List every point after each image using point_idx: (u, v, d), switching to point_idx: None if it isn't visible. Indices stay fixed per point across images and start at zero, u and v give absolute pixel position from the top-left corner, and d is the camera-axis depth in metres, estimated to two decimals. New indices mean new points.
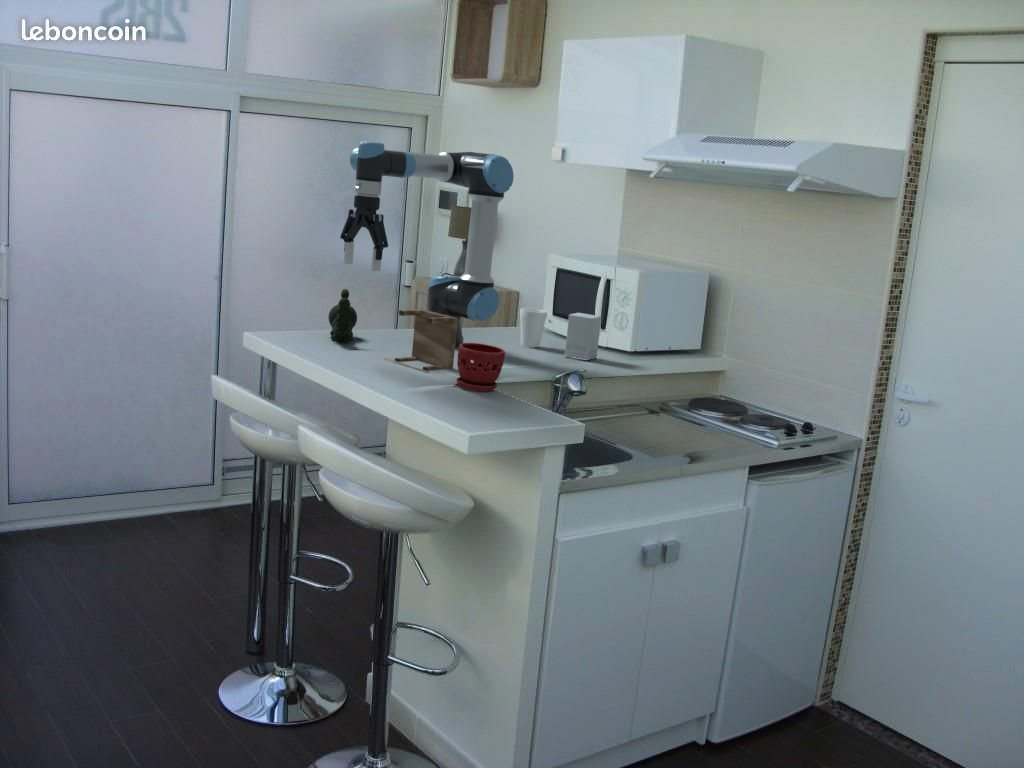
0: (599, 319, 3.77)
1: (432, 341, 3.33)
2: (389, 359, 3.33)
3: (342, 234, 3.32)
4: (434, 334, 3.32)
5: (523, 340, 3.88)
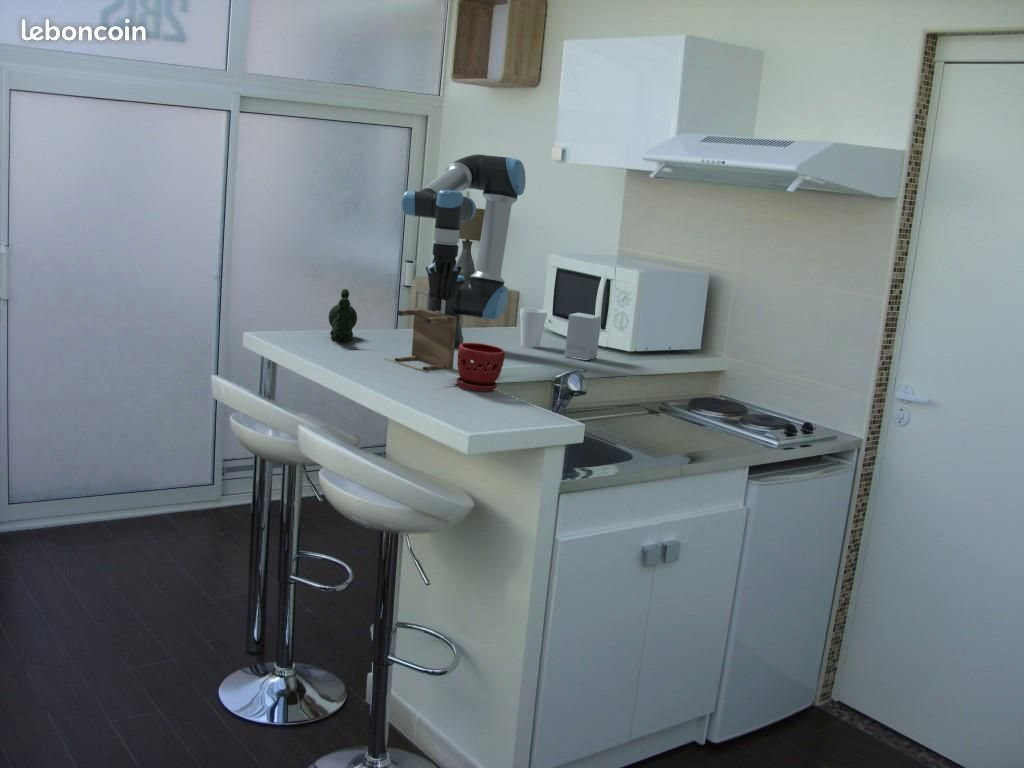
0: (599, 319, 3.77)
1: (431, 340, 3.32)
2: (389, 359, 3.33)
3: None
4: (433, 333, 3.31)
5: (523, 340, 3.88)
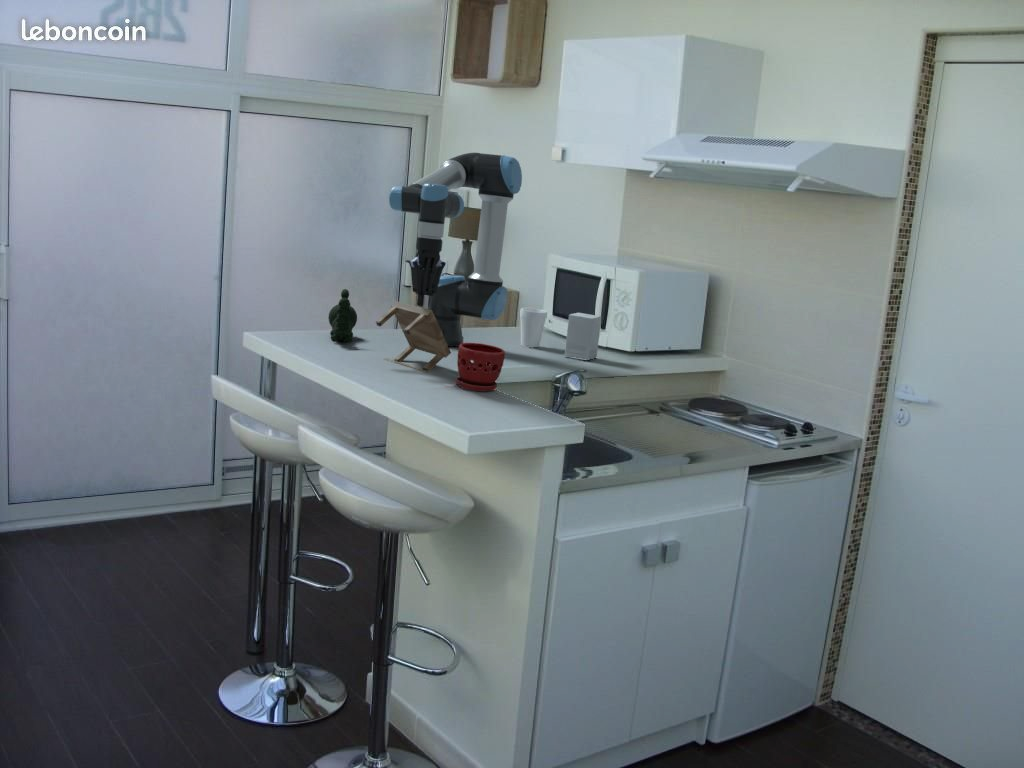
0: (599, 319, 3.77)
1: (419, 332, 3.28)
2: (389, 359, 3.33)
3: None
4: (418, 327, 3.26)
5: (523, 340, 3.88)
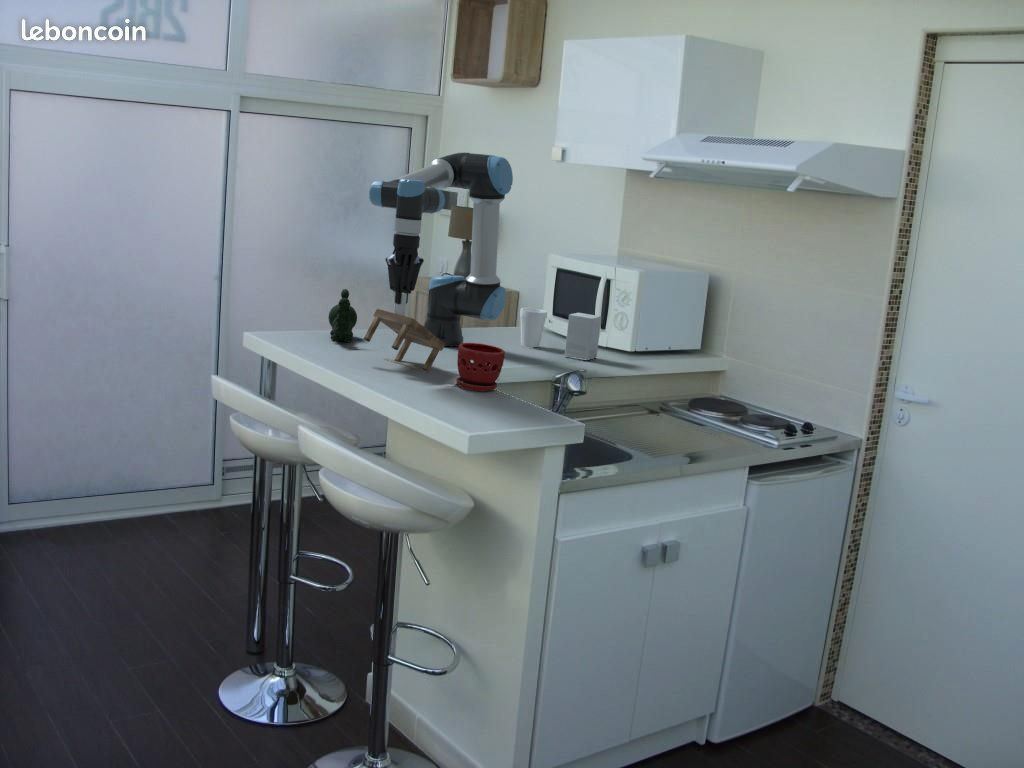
0: (599, 319, 3.77)
1: (409, 334, 3.25)
2: (389, 359, 3.33)
3: None
4: None
5: (523, 340, 3.88)
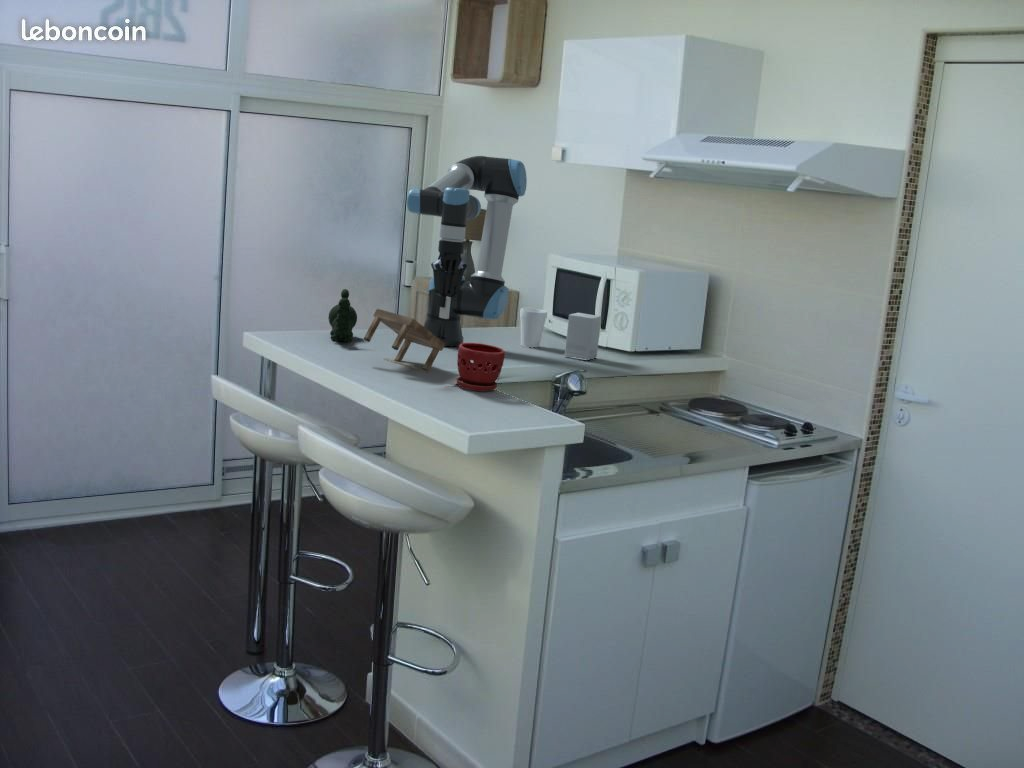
0: (599, 319, 3.77)
1: (409, 334, 3.25)
2: (389, 359, 3.33)
3: None
4: None
5: (523, 340, 3.88)
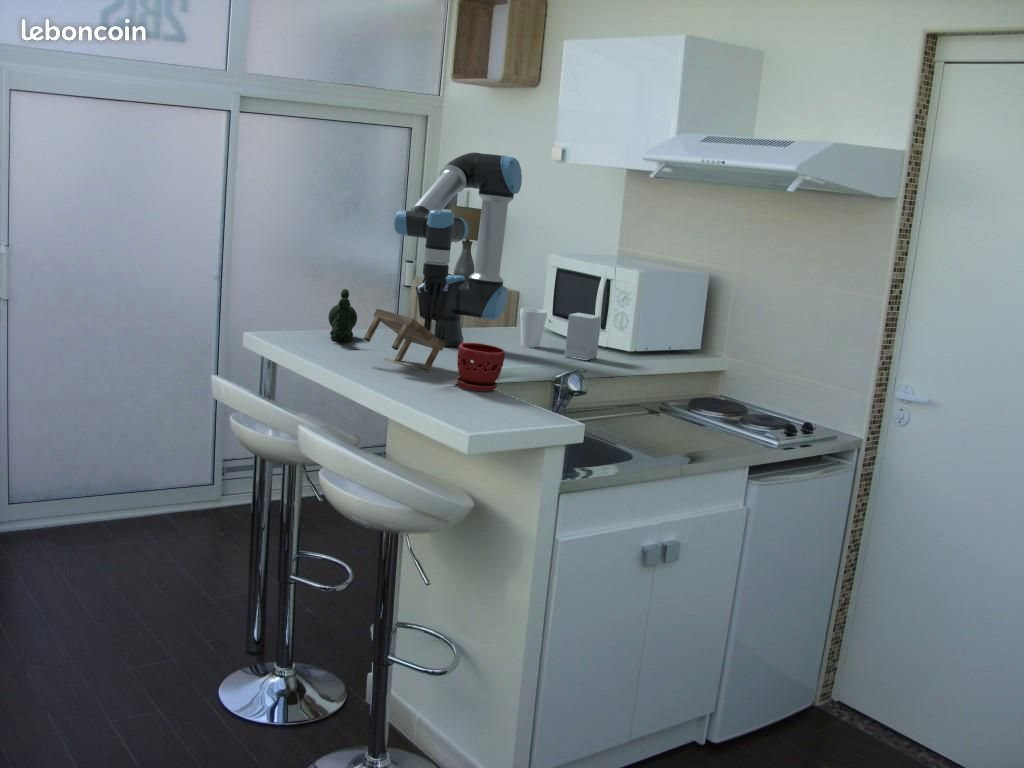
0: (599, 319, 3.77)
1: (409, 334, 3.25)
2: (389, 359, 3.33)
3: None
4: None
5: (523, 340, 3.88)
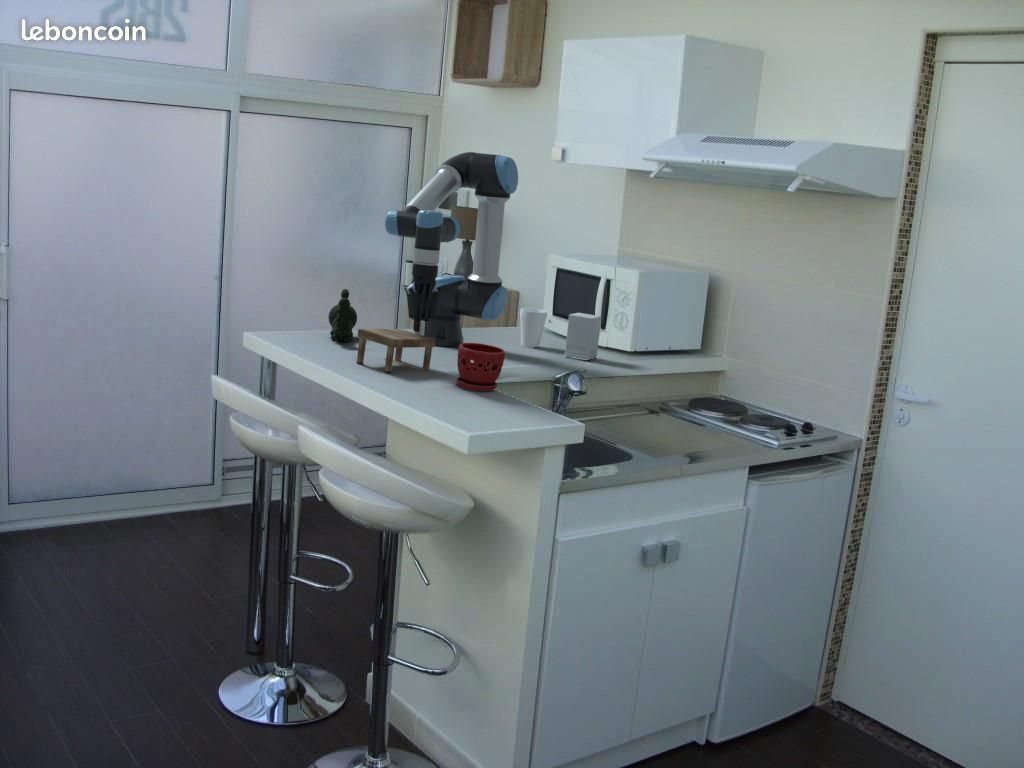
0: (599, 319, 3.77)
1: None
2: None
3: None
4: None
5: (523, 340, 3.88)
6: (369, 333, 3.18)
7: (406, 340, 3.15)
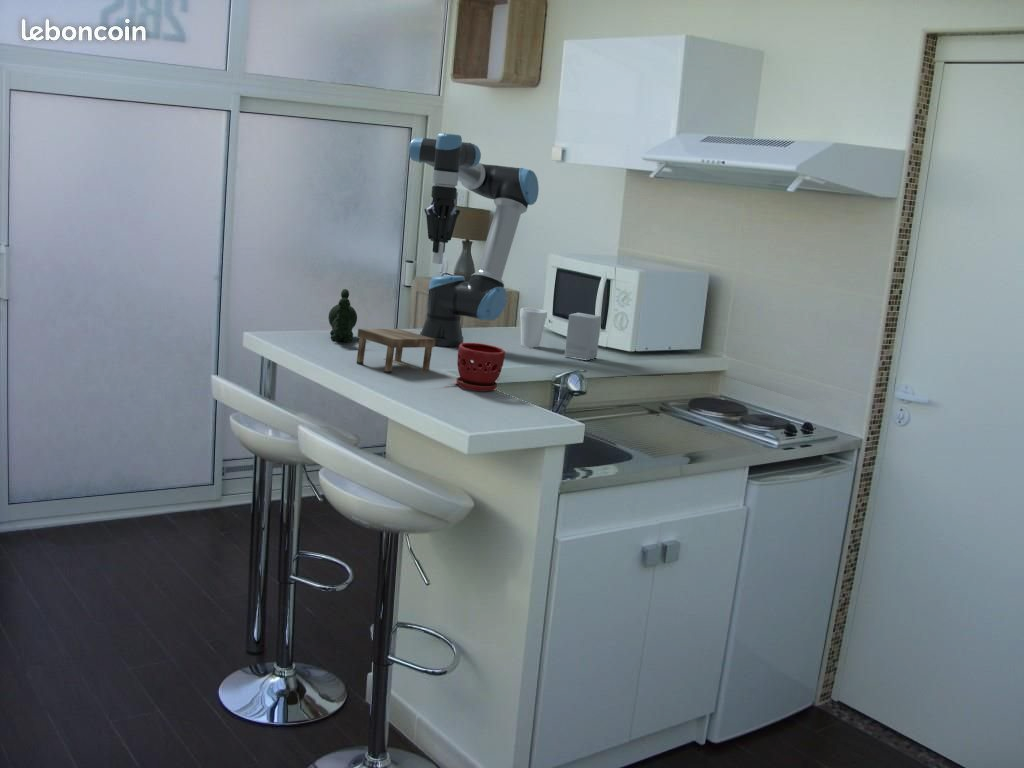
0: (599, 319, 3.77)
1: None
2: None
3: None
4: None
5: (523, 340, 3.88)
6: (369, 333, 3.18)
7: (406, 340, 3.15)
